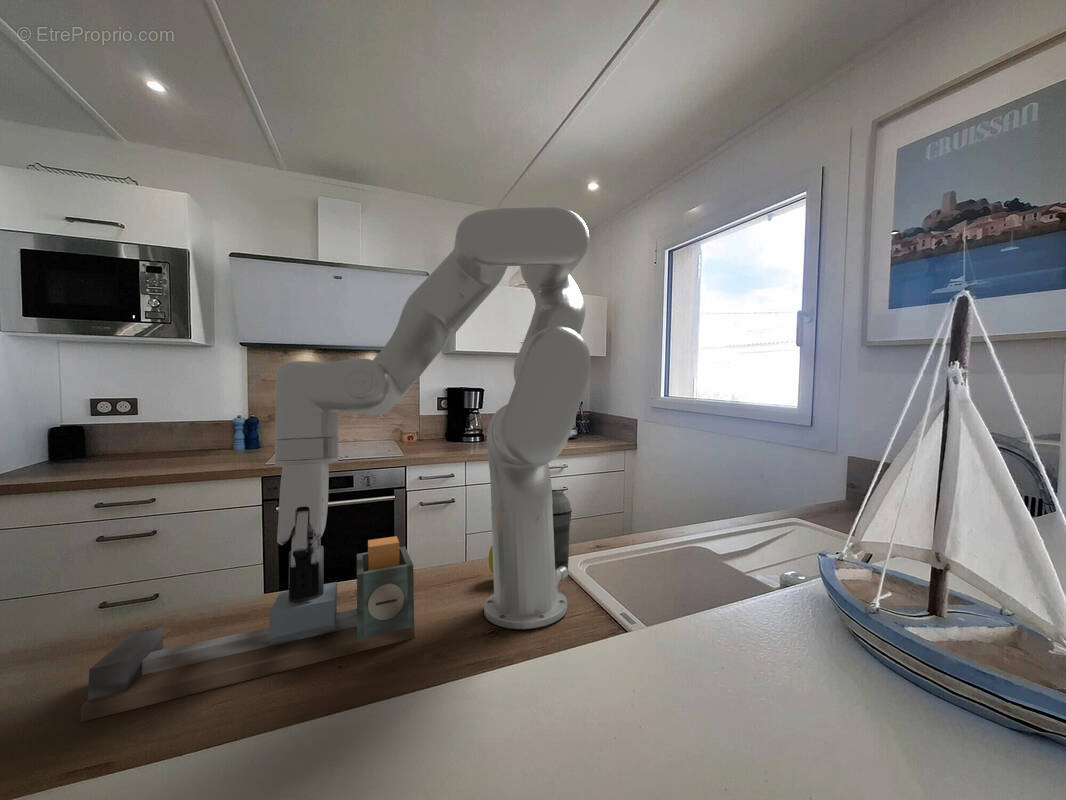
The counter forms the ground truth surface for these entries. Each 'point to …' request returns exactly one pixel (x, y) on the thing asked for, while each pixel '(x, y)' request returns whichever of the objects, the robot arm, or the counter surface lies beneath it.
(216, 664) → the rail base
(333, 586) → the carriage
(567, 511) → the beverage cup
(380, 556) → the orange block
